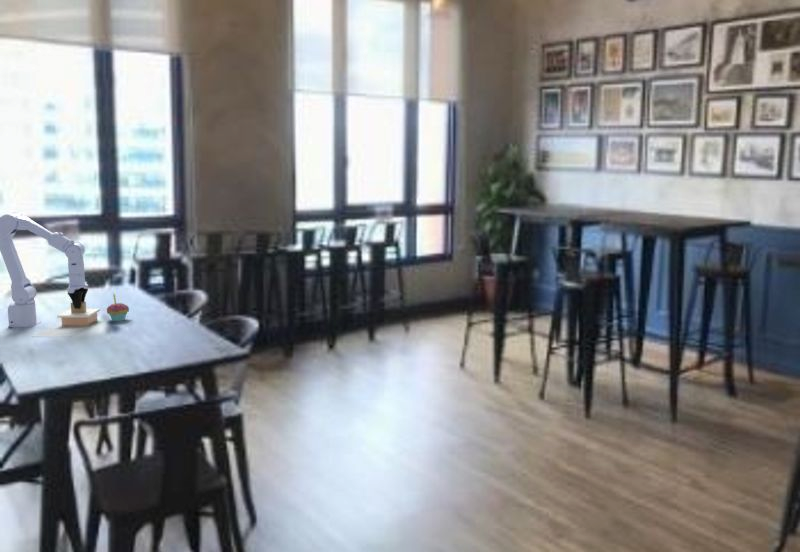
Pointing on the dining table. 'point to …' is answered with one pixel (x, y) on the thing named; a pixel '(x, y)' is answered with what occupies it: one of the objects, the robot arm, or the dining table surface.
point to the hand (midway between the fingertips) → (79, 307)
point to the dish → (79, 321)
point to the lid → (78, 312)
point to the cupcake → (117, 311)
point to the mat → (58, 332)
